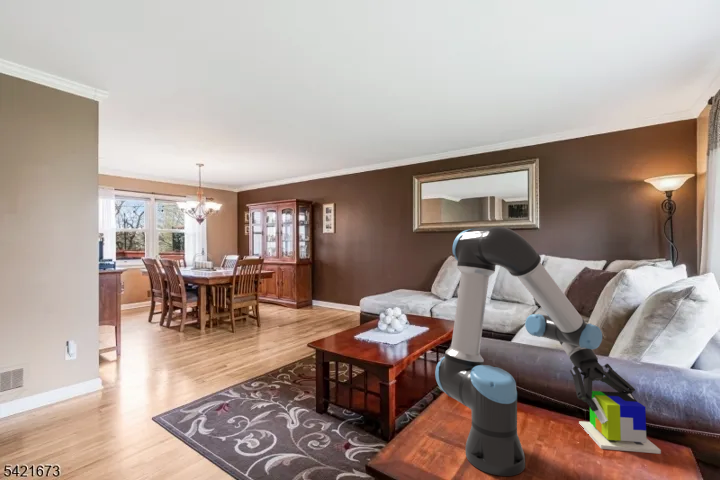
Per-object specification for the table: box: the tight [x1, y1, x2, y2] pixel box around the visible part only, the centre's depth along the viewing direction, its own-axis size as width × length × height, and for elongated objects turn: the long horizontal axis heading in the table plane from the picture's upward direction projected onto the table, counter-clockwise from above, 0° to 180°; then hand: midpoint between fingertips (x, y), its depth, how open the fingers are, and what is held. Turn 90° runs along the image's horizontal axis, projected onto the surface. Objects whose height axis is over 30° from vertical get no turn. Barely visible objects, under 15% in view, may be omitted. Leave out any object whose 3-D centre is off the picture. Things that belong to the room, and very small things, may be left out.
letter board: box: [578, 420, 662, 455], centre depth 104 cm, size 15×14×1 cm
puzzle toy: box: [589, 390, 647, 442], centre depth 104 cm, size 10×10×10 cm
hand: (623, 419), depth 102 cm, fingers closed on puzzle toy, 12 cm apart
